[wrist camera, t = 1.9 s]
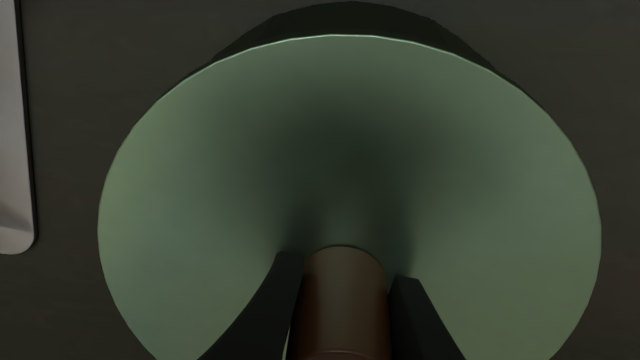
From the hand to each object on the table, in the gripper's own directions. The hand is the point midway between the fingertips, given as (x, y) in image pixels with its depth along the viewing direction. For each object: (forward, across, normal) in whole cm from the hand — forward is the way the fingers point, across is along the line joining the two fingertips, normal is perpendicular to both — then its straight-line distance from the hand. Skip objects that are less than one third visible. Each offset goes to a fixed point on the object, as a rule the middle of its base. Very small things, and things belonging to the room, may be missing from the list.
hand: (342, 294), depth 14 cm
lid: (+1, 0, 0) cm, 1 cm away
